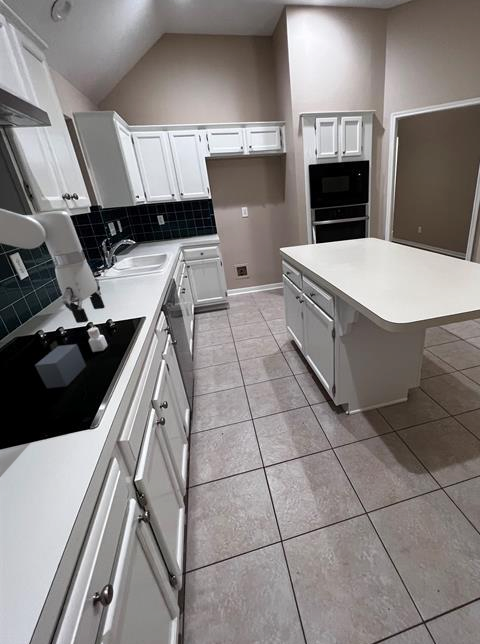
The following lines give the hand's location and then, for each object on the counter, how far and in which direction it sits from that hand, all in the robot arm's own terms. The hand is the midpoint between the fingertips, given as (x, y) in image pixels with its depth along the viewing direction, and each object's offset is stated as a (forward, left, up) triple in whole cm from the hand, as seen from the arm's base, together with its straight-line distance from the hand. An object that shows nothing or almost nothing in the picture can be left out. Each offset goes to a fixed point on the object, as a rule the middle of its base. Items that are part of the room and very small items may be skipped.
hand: (91, 314), depth 94 cm
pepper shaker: (-11, +14, -20) cm, 27 cm away
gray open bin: (-13, -3, -20) cm, 24 cm away
